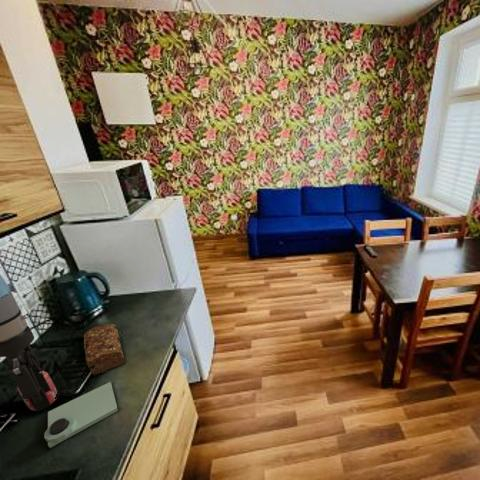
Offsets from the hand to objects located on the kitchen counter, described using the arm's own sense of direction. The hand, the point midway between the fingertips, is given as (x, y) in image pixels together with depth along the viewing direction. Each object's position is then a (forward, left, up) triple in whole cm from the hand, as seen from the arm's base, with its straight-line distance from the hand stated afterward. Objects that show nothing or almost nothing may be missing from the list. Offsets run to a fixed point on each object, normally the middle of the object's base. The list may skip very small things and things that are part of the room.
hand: (44, 399), depth 73 cm
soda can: (-4, +17, -15) cm, 23 cm away
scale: (+5, +4, -15) cm, 16 cm away
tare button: (0, 0, -12) cm, 12 cm away
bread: (+14, +27, -15) cm, 34 cm away
